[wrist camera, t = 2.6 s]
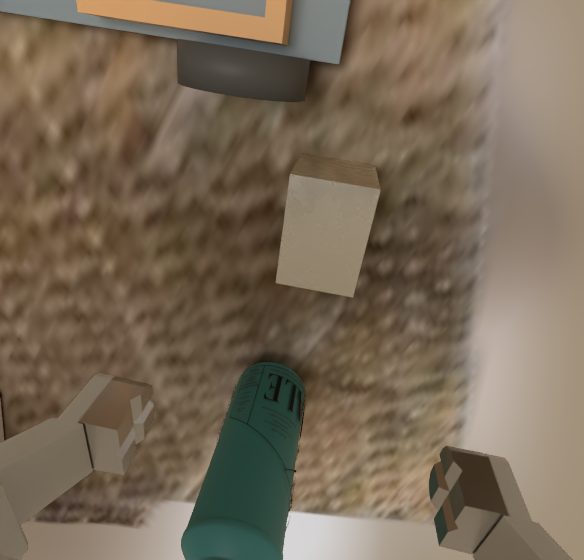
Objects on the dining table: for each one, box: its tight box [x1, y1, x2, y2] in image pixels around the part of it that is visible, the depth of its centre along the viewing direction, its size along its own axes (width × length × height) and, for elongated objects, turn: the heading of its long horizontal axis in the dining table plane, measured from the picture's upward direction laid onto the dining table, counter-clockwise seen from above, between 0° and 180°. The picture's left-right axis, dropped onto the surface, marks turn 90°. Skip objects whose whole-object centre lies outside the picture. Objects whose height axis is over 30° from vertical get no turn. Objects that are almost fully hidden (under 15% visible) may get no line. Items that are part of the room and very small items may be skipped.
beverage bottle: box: [181, 362, 306, 560], centre depth 27 cm, size 6×7×20 cm
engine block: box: [276, 153, 381, 297], centre depth 25 cm, size 7×5×6 cm
